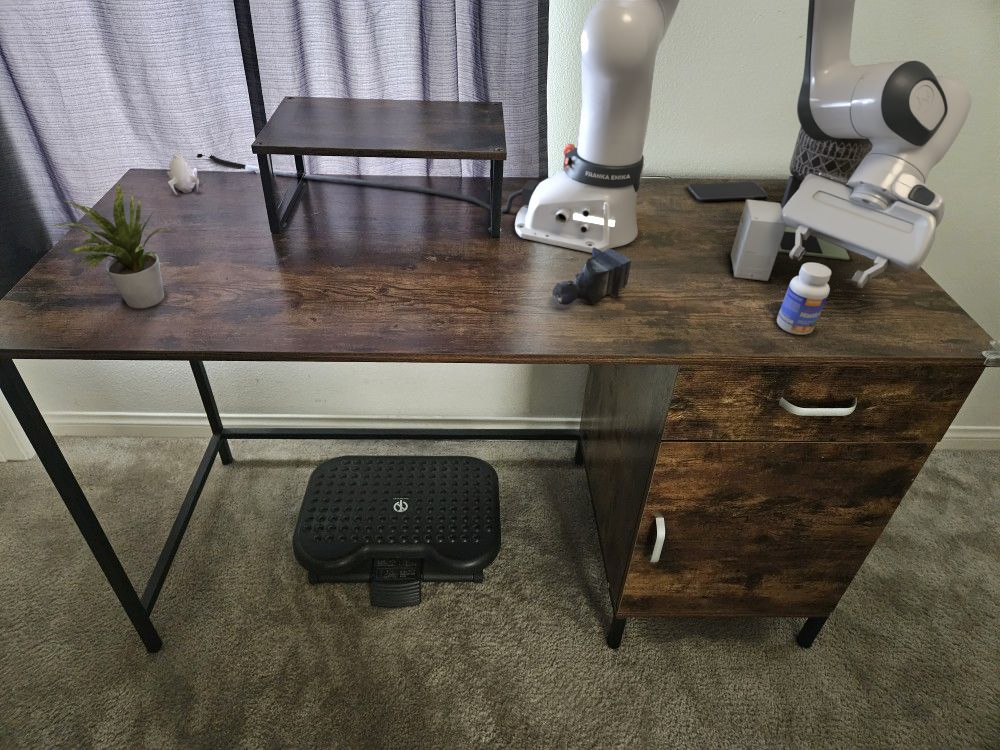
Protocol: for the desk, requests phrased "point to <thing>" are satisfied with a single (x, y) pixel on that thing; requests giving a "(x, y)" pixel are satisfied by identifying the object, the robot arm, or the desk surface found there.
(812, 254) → the felt pad
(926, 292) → the desk surface
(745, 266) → the small box
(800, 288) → the pill bottle
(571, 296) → the dark statue fragment
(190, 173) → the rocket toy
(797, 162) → the planter
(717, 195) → the smartphone
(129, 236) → the house plant
